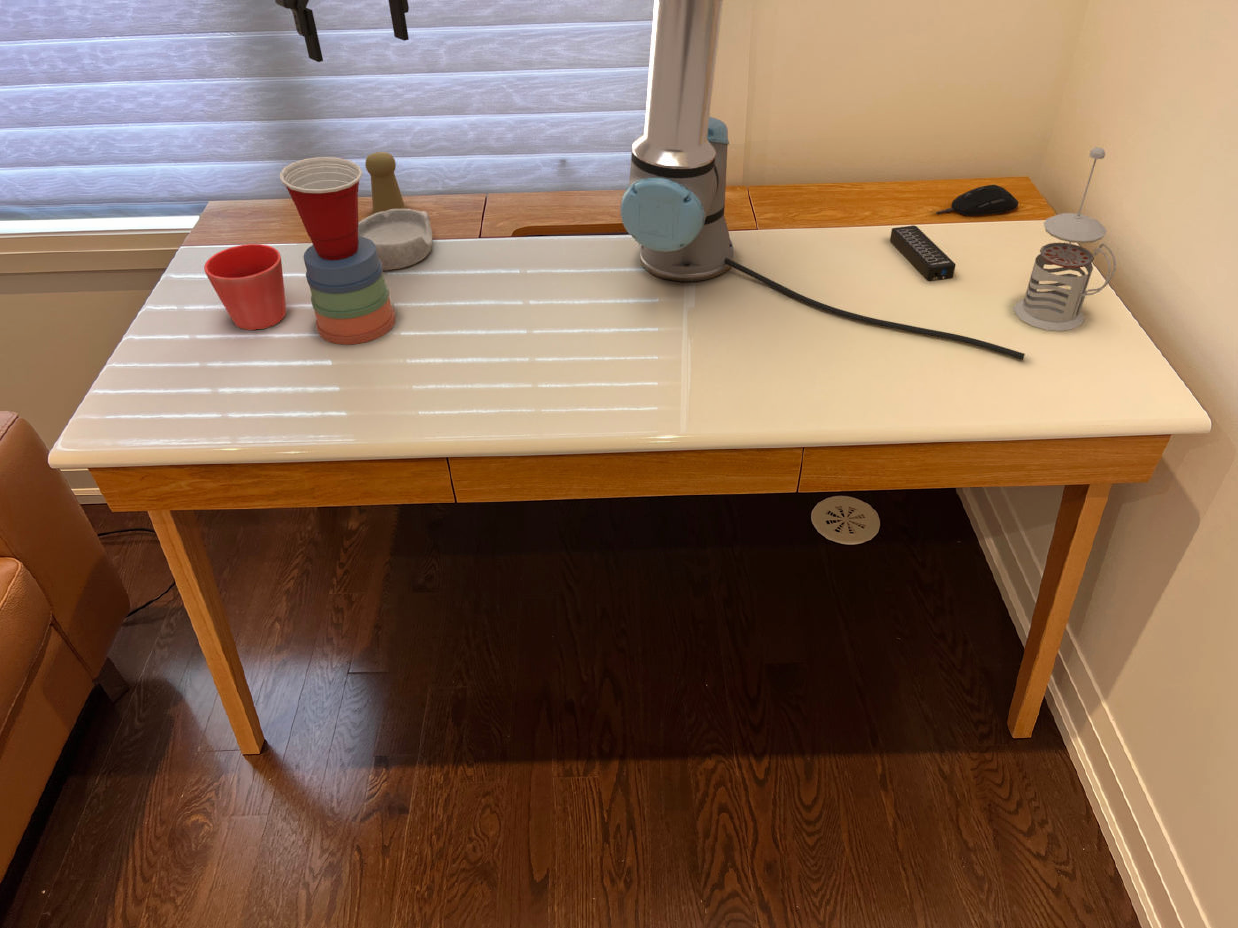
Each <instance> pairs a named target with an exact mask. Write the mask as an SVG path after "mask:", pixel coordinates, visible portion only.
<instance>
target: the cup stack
mask: <svg viewBox="0 0 1238 928" xmlns="http://www.w3.org/2000/svg"><path fill="white" fill-rule="evenodd" d="M358 240H359V245H358V250H357V252H356V253H355V254H353V255H352V256H350V257H347V258H345V259H340V260H326V259H323V258H321V257H319V255H318V253H317V252H316V250H315V248H314V246H313V244H312V245H310V246H309V247H307V248H306V250H305V251H304V253H303V262H304V265H305V266H304V267H305V271H306V272H305V278H306V281H307V284H308V287H309V290H310V294H311V296H310V303H311V306H312V309H313V312H314V315H315V326H316V331H317V333H318V335H319V336H320V337H321V338H322V339H323V340H325V341H326V342H329V343H332V344H337V345H358V344H364V343H367V342H372V341H374V340H376V339H378V338H381V337H382V336H384V335H386V334H387V333H389V332H390V331H391V330H392V329H393V327H394V326H395V324H396V319H397V318H396V315H395V309H394V308H393V306H392V304H391V299H390V289H389V287H388V284H387V283H386V281H385V276H384V270H383V268H382V263H381V261H380V260H379V258H378V254H377V249H376V245H375V244H374V242H373V241H371V240H370V239H368V238H365V237H361V236H358Z"/></svg>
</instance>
